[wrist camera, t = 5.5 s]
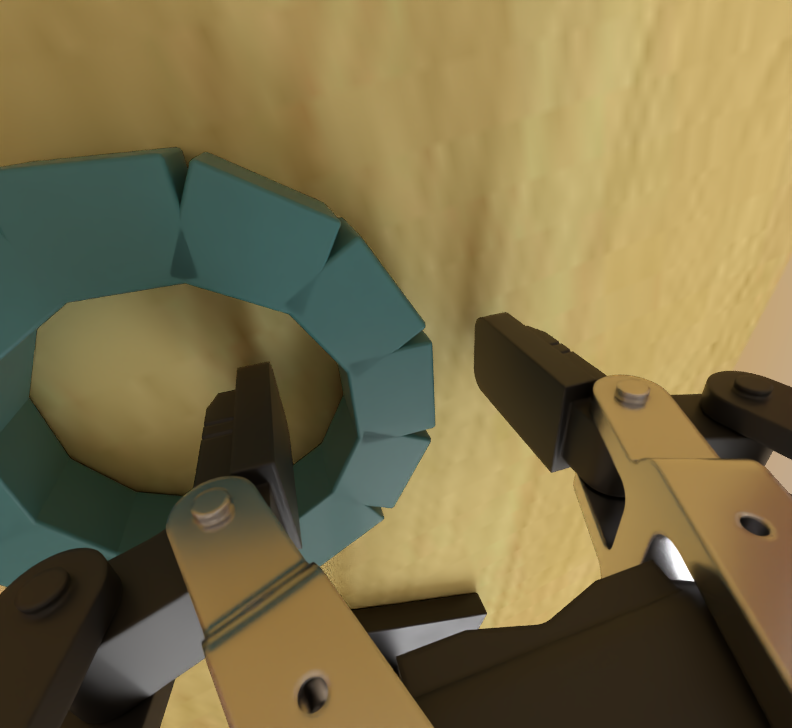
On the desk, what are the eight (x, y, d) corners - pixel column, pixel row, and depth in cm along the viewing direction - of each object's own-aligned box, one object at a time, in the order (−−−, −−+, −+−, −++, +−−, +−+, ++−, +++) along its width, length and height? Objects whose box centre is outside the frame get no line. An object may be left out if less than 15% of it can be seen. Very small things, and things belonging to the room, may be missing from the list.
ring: (69, 586, 12) (40, 660, 10) (-274, 192, 6) (-463, 215, 5) (418, 484, 14) (440, 532, 13) (392, 125, 9) (425, 125, 7)
